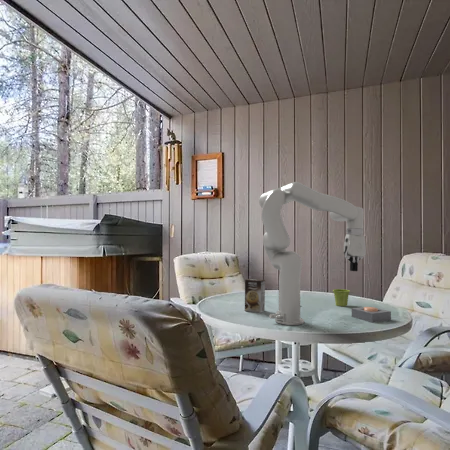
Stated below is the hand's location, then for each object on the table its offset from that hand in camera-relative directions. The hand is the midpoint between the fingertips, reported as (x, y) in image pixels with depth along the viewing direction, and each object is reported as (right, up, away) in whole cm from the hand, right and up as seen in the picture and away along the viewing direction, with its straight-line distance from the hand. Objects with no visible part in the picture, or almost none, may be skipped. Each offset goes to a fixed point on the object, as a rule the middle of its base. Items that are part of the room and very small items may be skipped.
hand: (353, 270), depth 151 cm
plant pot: (+5, -24, +29) cm, 38 cm away
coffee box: (-46, -23, +12) cm, 53 cm away
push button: (+7, -20, -2) cm, 22 cm away
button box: (+7, -22, -2) cm, 23 cm away
